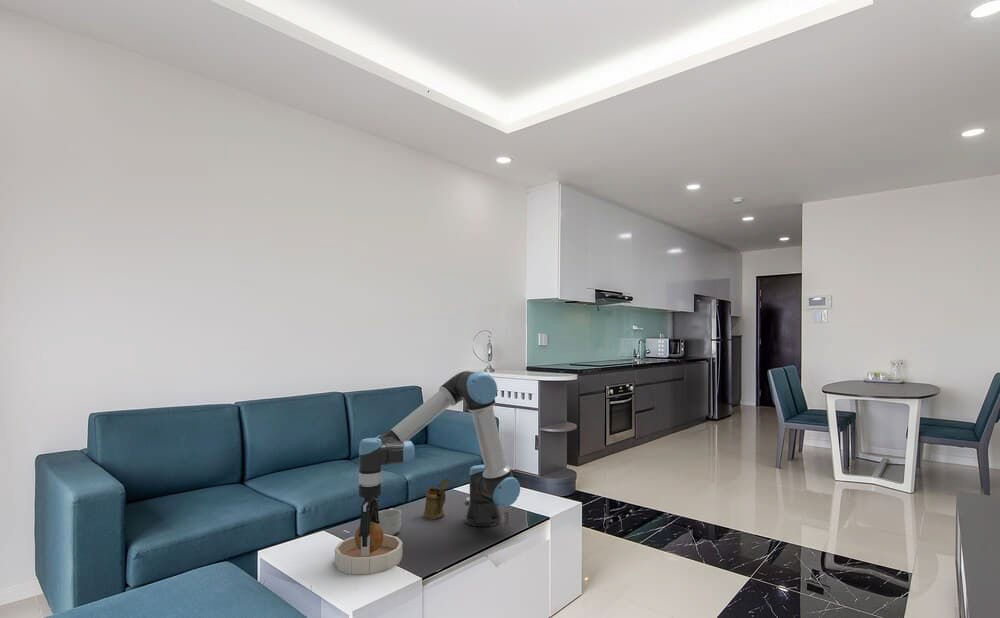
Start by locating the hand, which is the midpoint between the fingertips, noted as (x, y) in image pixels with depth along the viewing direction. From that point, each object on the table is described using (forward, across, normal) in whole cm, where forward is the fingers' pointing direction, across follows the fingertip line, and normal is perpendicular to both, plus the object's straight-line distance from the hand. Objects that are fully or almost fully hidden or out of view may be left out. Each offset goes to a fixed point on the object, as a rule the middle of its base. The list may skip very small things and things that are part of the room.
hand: (369, 549), depth 183 cm
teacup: (+4, -27, +1) cm, 27 cm away
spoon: (+5, -77, +39) cm, 86 cm away
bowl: (+4, 0, 0) cm, 4 cm away
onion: (+1, 0, 0) cm, 1 cm away
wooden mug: (+4, -45, +18) cm, 49 cm away
